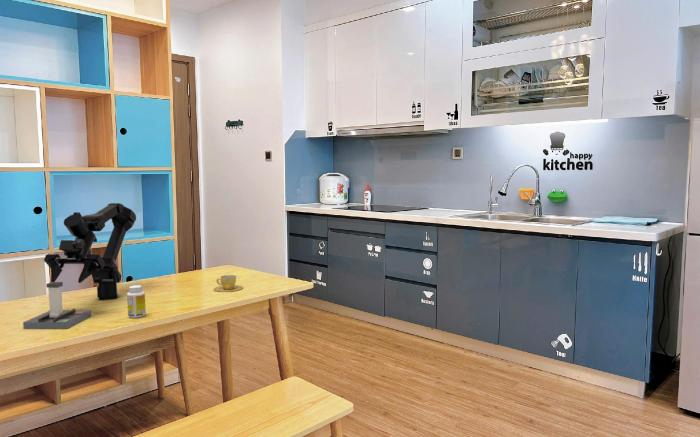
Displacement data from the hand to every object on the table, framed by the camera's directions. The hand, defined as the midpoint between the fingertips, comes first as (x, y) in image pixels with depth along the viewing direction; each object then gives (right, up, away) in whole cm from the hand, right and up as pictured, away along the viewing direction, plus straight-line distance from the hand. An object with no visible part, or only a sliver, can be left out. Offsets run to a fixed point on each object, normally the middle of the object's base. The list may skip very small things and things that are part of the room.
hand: (65, 282), depth 170 cm
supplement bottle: (+23, -12, +3) cm, 26 cm away
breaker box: (0, -13, -5) cm, 13 cm away
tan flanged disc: (+44, -8, +42) cm, 62 cm away
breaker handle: (0, -10, -5) cm, 11 cm away
